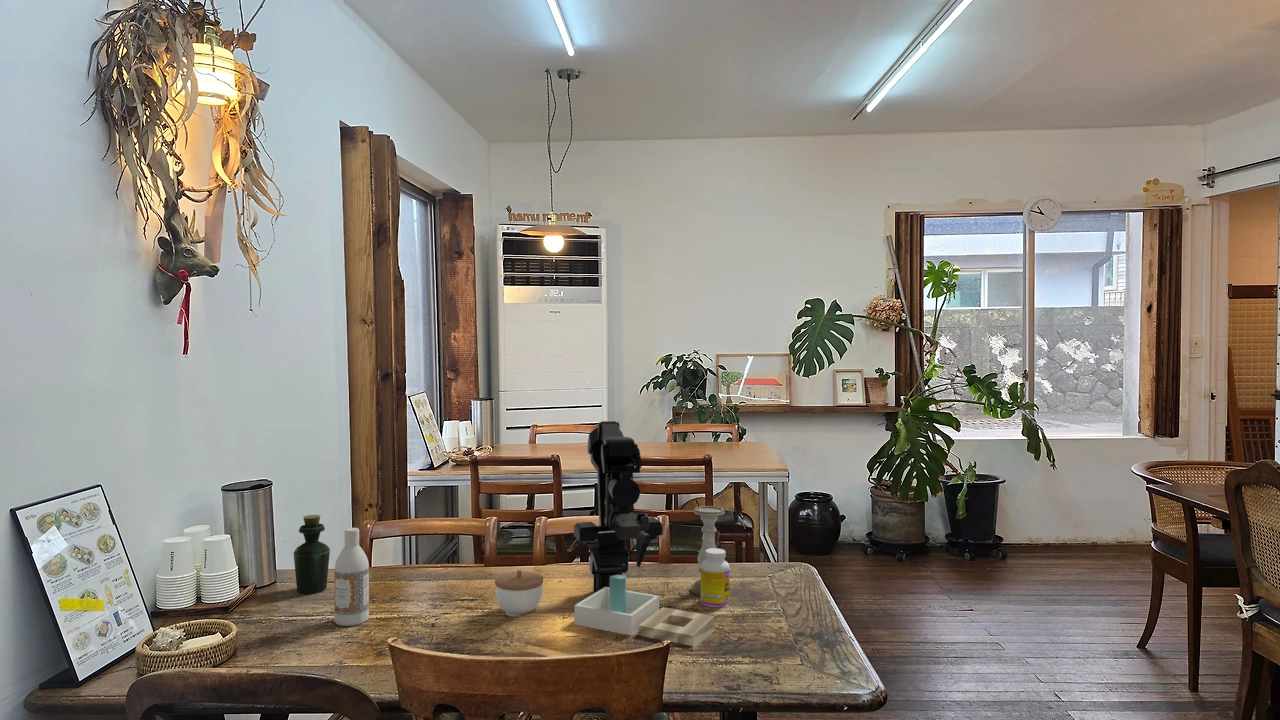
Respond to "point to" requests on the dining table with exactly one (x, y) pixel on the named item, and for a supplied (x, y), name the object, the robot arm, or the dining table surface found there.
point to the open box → (600, 617)
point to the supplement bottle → (715, 578)
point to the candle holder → (706, 536)
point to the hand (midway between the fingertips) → (618, 568)
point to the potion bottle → (311, 558)
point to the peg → (617, 593)
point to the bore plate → (689, 634)
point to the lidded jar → (518, 592)
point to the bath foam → (351, 582)
